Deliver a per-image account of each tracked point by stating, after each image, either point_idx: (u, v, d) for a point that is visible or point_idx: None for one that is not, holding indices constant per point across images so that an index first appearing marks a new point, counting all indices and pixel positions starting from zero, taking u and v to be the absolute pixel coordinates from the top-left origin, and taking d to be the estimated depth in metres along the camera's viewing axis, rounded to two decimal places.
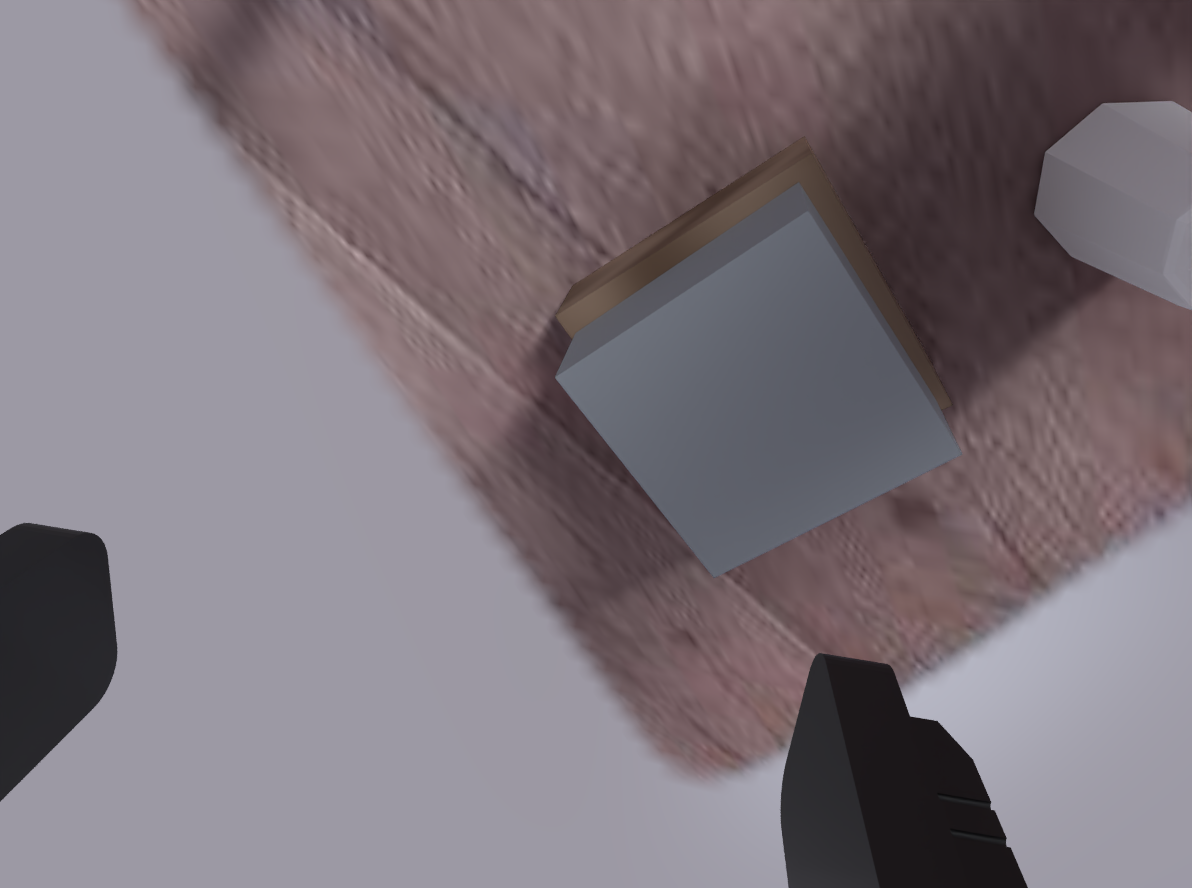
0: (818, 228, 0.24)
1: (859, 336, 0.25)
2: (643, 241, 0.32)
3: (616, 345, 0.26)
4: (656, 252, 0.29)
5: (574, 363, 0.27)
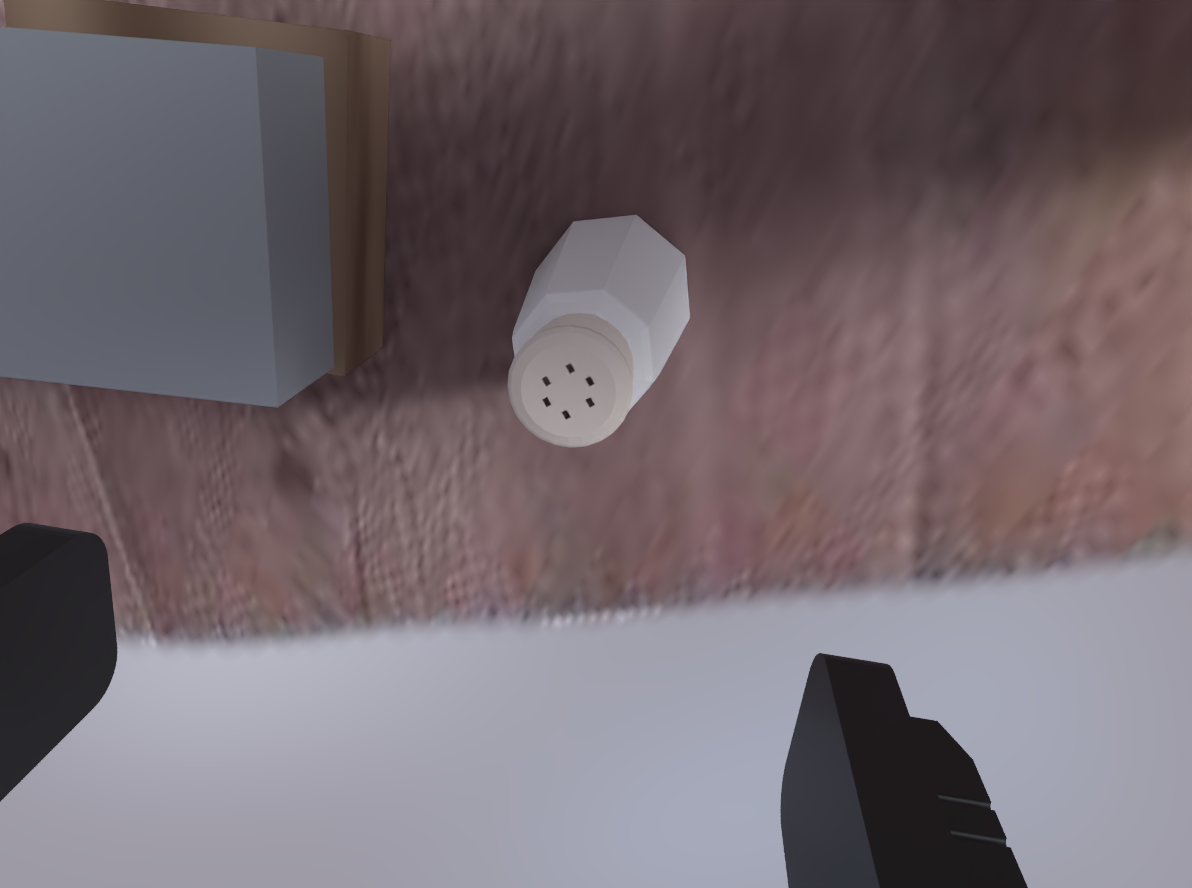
0: (257, 74, 0.21)
1: (240, 217, 0.22)
2: None
3: None
4: (147, 6, 0.24)
5: None
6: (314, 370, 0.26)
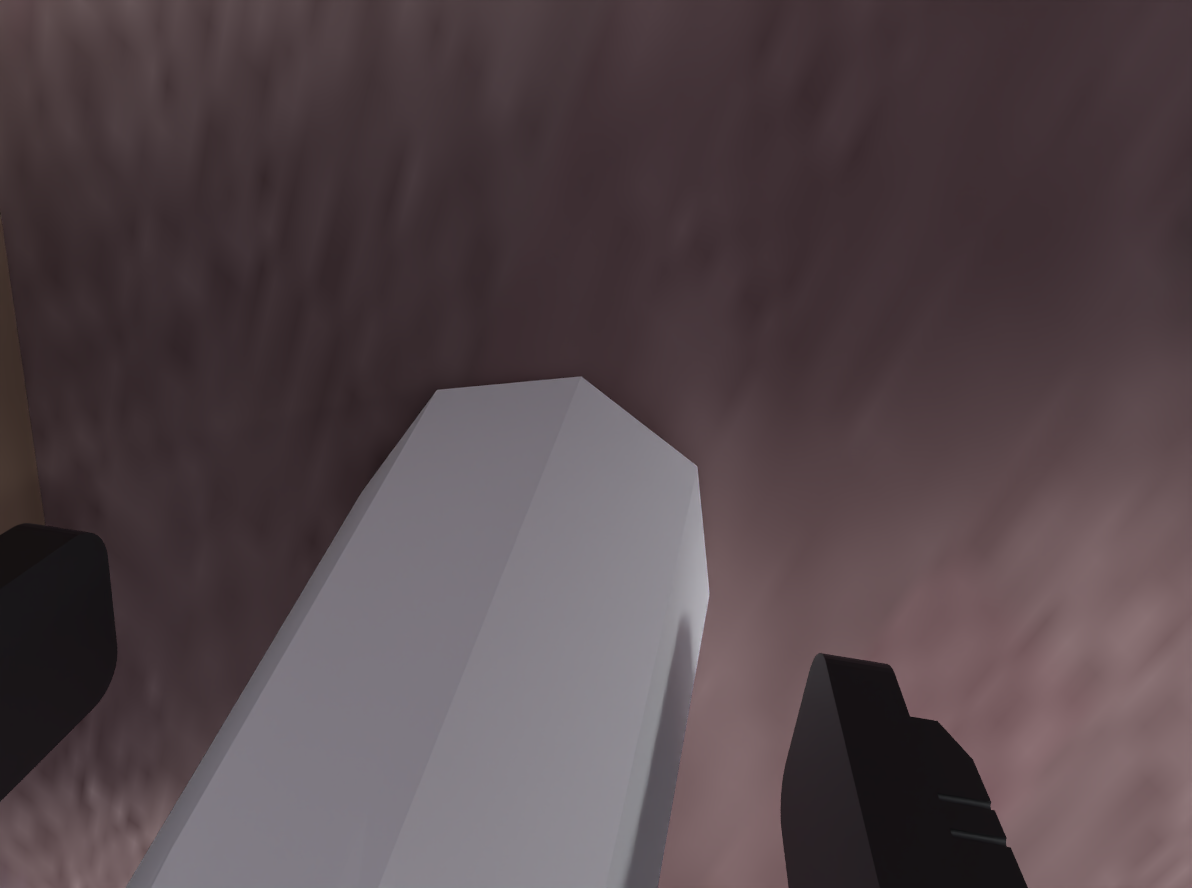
0: None
1: None
2: None
3: None
4: None
5: None
6: None
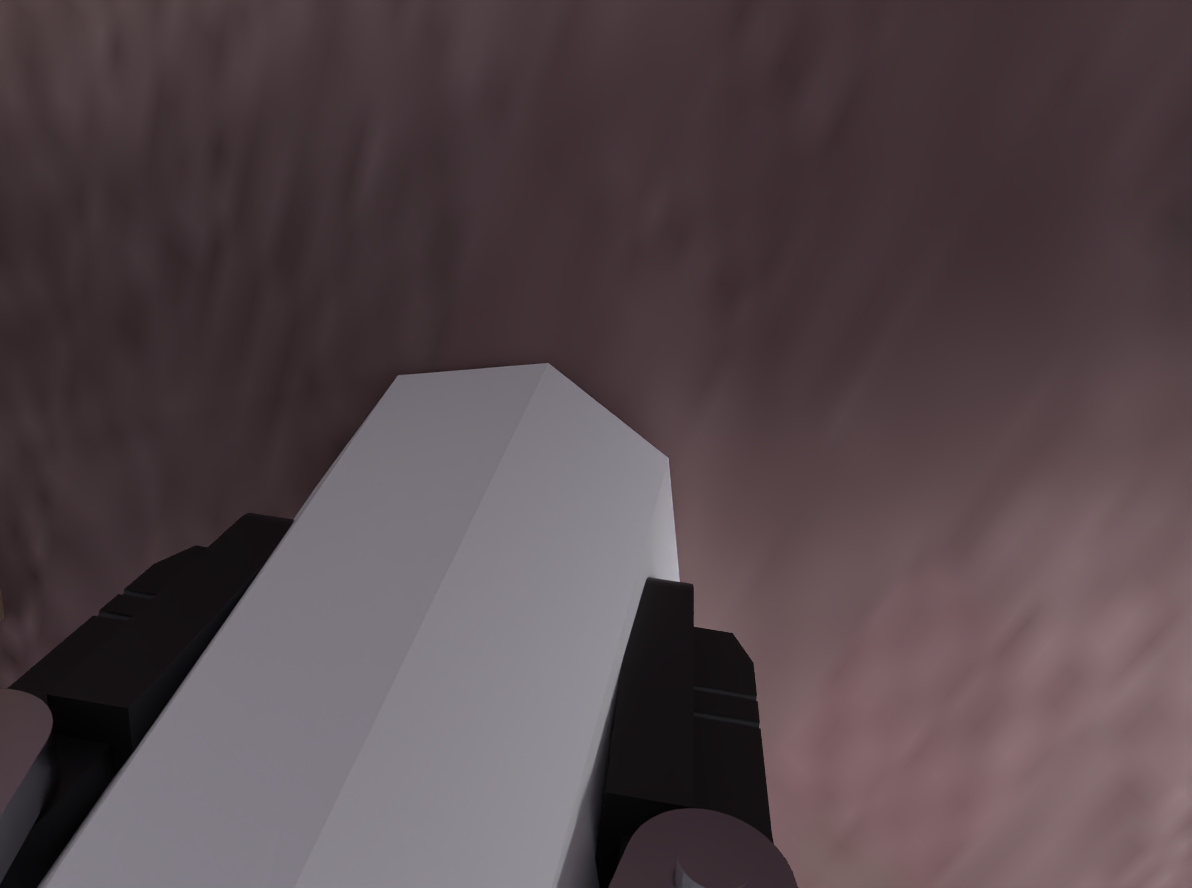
0: None
1: None
2: None
3: None
4: None
5: None
6: None
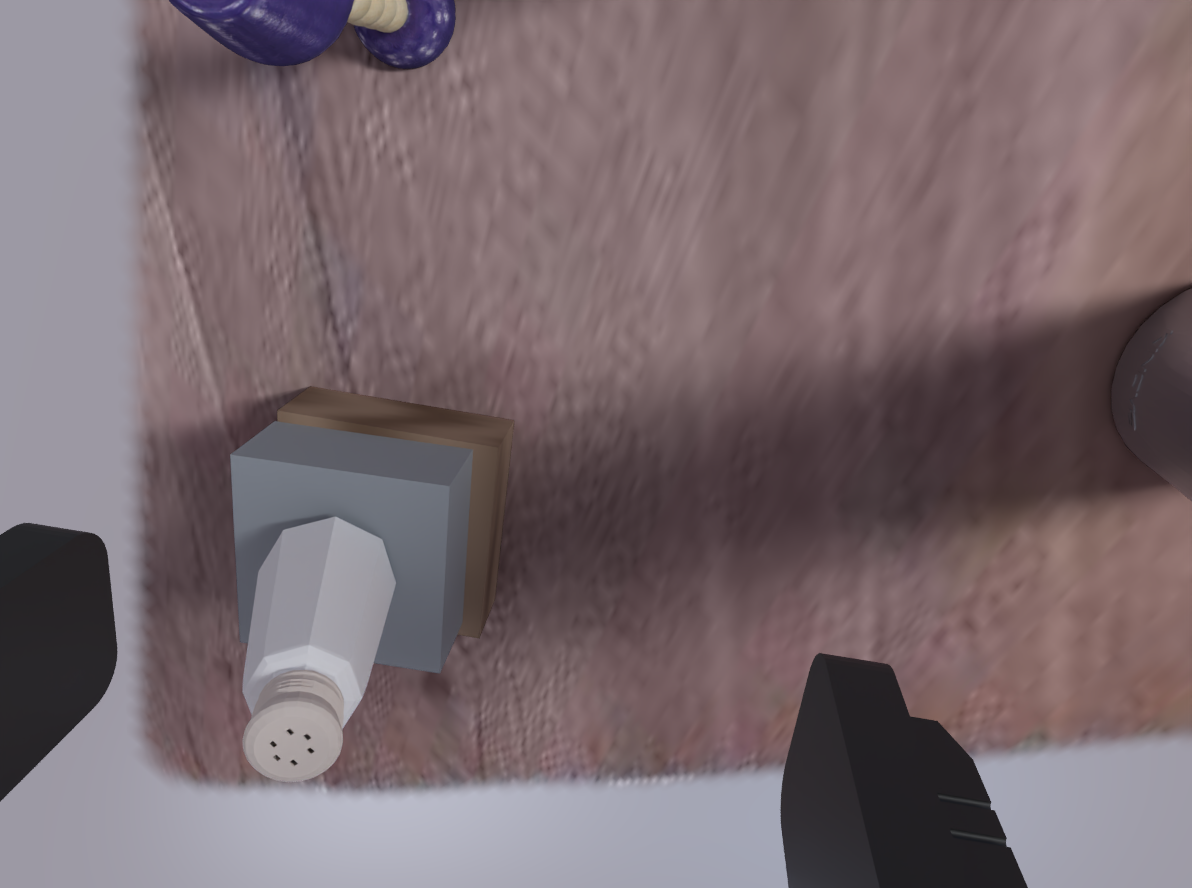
0: (448, 499, 0.35)
1: (429, 571, 0.36)
2: (376, 399, 0.41)
3: (284, 467, 0.35)
4: (370, 426, 0.38)
5: (250, 456, 0.35)
6: (454, 634, 0.40)
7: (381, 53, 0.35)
